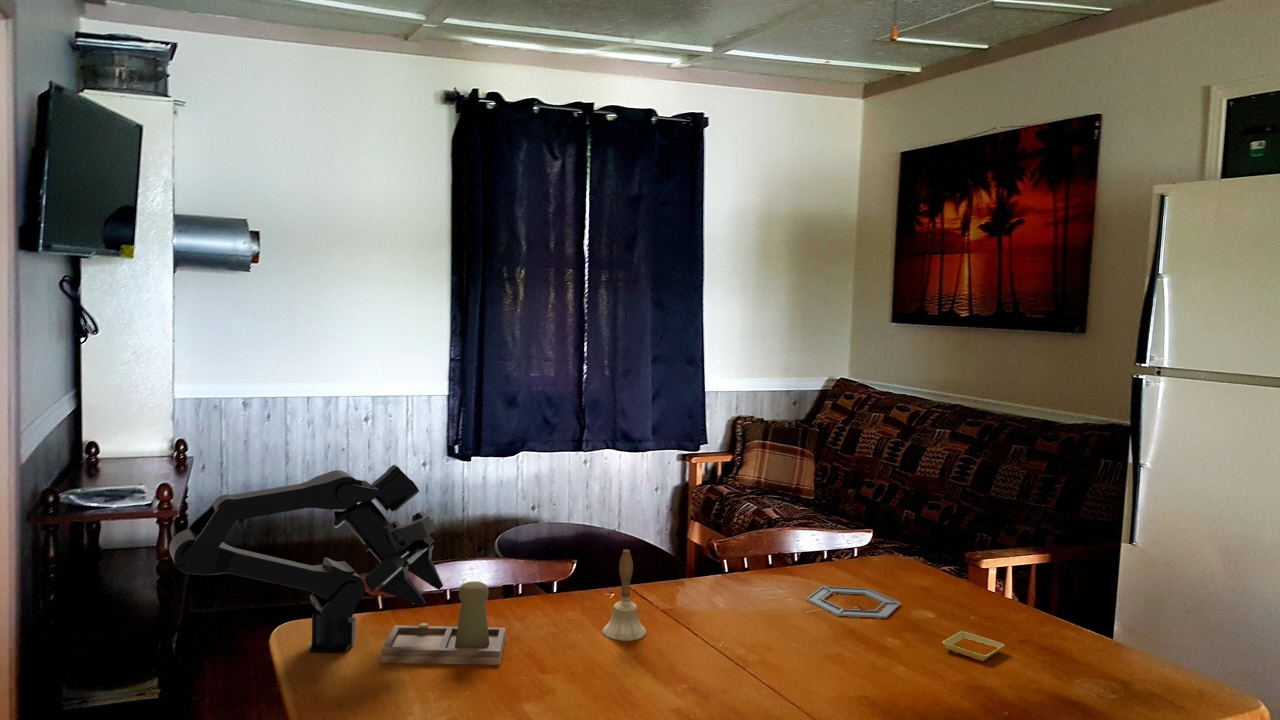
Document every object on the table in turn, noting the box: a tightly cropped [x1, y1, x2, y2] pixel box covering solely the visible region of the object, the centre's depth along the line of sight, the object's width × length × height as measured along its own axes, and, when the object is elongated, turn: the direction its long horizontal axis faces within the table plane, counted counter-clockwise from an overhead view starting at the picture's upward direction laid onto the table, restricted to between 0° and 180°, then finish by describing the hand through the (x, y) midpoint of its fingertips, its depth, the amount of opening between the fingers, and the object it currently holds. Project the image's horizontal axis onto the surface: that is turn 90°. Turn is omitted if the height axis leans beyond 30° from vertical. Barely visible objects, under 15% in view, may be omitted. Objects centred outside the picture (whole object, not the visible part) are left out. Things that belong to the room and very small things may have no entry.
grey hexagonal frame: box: [805, 585, 902, 619], centre depth 202 cm, size 17×20×1 cm
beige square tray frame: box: [942, 631, 1005, 660], centre depth 177 cm, size 9×9×2 cm
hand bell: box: [601, 549, 647, 642], centre depth 179 cm, size 8×8×16 cm
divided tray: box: [380, 622, 507, 666], centre depth 168 cm, size 20×12×3 cm, turn 93°
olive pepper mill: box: [455, 581, 489, 649], centre depth 167 cm, size 6×6×11 cm
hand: (432, 596), depth 168 cm, fingers open, 9 cm apart
